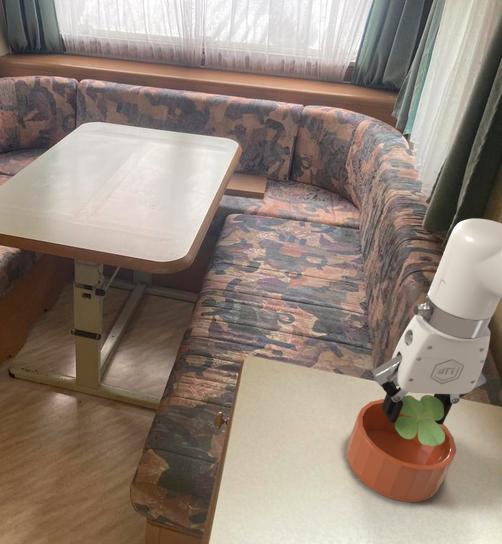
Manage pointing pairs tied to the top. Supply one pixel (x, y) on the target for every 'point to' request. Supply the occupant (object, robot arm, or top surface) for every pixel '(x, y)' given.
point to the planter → (396, 457)
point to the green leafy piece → (421, 420)
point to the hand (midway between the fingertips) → (412, 415)
